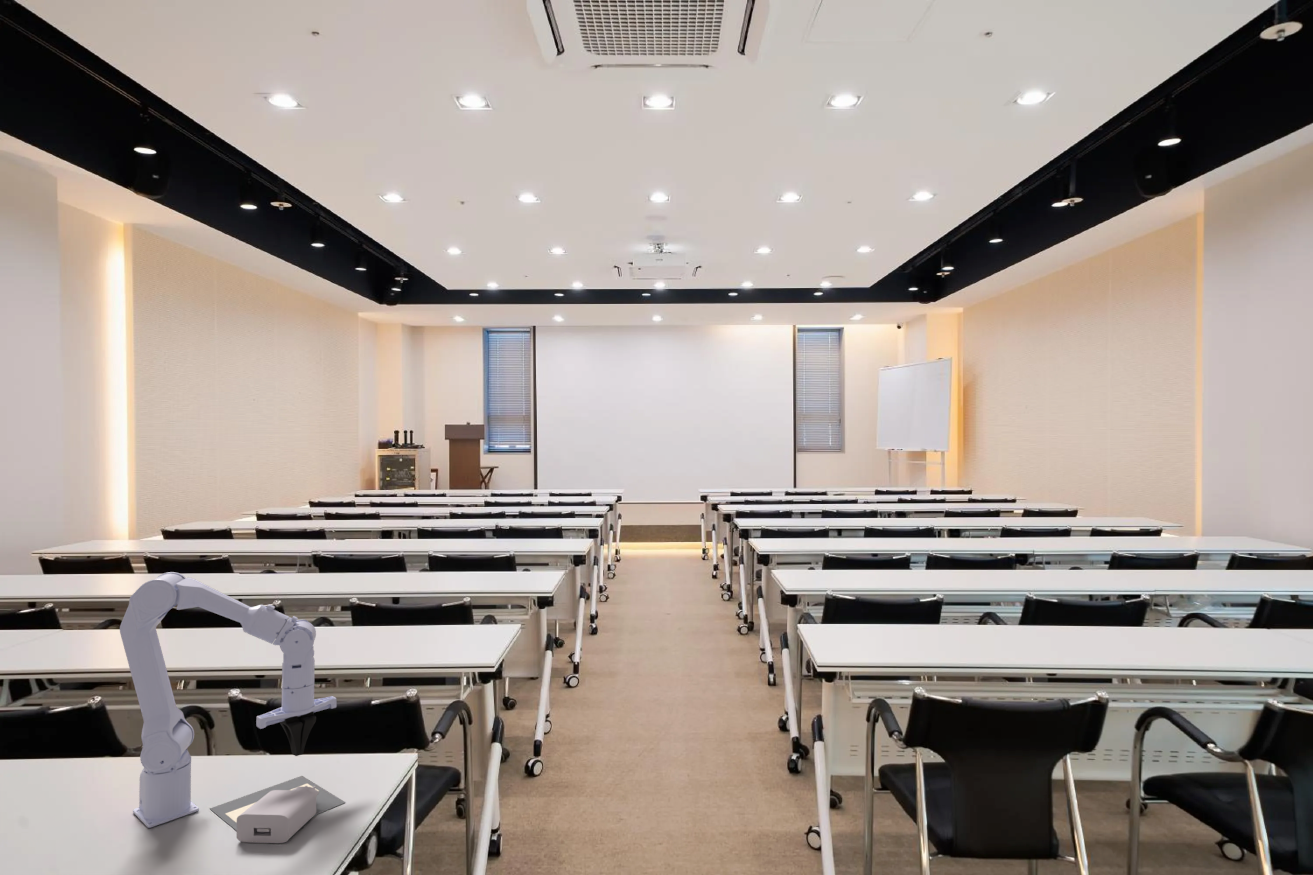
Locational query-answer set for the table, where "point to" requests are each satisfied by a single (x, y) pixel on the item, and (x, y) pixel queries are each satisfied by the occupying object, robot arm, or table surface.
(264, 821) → the charger
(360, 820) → the table surface
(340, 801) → the label mat
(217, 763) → the table surface
